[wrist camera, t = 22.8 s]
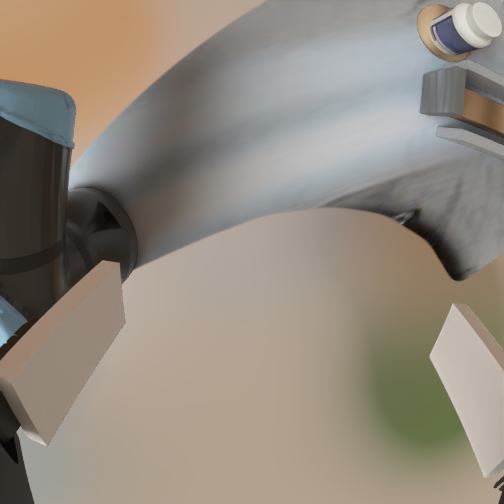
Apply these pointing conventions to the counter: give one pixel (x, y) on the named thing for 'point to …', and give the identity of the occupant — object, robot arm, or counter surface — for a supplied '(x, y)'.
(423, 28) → the coaster
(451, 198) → the counter surface
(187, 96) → the counter surface
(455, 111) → the sliding block
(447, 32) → the pill bottle
